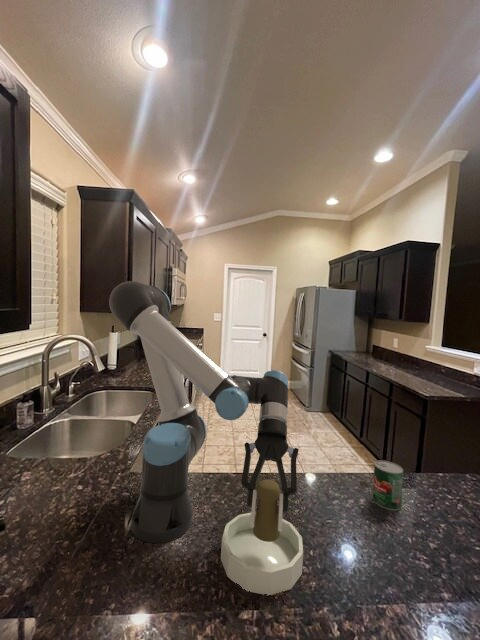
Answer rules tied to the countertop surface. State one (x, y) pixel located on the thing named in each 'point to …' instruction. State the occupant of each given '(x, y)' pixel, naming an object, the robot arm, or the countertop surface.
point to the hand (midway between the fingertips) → (266, 527)
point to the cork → (267, 511)
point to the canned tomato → (387, 485)
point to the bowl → (261, 557)
